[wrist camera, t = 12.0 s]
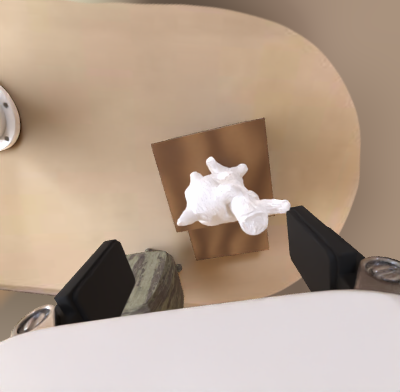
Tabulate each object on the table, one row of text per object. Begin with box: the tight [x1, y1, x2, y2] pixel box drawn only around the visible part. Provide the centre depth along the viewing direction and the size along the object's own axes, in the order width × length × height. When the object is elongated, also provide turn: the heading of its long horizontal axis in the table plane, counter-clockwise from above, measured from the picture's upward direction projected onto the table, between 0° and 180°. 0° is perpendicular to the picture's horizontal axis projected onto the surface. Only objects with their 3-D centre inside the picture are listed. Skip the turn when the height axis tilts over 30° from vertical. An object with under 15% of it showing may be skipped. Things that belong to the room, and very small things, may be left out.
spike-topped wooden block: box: [120, 249, 184, 317], centre depth 31 cm, size 14×9×25 cm, turn 102°
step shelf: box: [151, 118, 275, 260], centre depth 31 cm, size 13×22×11 cm, turn 13°
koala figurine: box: [177, 157, 291, 235], centre depth 19 cm, size 8×7×12 cm
